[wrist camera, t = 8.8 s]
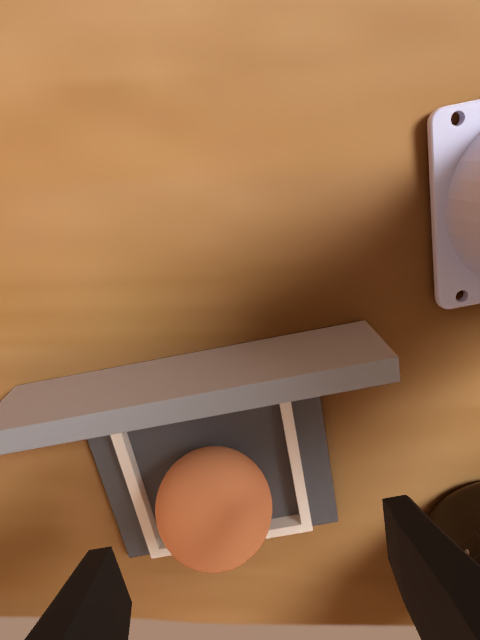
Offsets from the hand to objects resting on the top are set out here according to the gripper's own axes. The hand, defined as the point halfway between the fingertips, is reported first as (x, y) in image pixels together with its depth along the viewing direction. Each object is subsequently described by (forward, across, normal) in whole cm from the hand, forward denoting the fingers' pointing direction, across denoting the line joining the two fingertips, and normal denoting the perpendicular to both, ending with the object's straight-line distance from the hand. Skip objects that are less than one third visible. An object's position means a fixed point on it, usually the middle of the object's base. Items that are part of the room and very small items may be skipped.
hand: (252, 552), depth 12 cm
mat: (+9, +2, +4) cm, 10 cm away
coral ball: (+6, +2, +4) cm, 8 cm away
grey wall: (+9, +2, -2) cm, 10 cm away
